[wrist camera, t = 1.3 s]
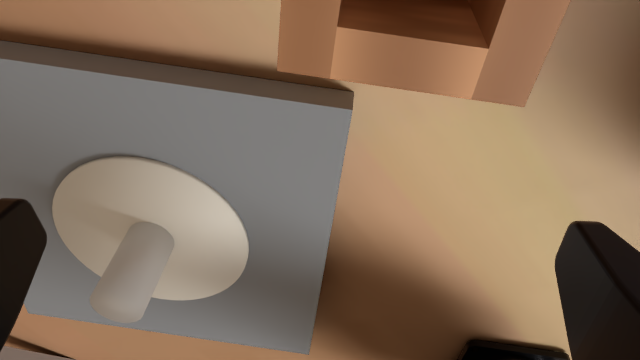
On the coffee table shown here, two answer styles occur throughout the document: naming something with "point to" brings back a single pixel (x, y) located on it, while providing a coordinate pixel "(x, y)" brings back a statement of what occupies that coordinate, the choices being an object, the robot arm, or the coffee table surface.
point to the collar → (423, 44)
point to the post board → (173, 193)
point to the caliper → (26, 355)
